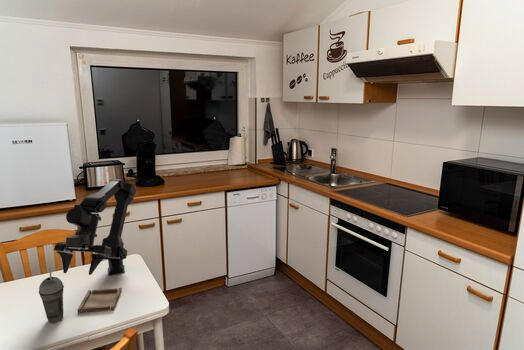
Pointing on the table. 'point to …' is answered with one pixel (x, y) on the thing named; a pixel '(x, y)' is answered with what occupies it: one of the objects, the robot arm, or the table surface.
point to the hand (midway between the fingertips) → (77, 274)
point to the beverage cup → (52, 298)
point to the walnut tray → (100, 300)
